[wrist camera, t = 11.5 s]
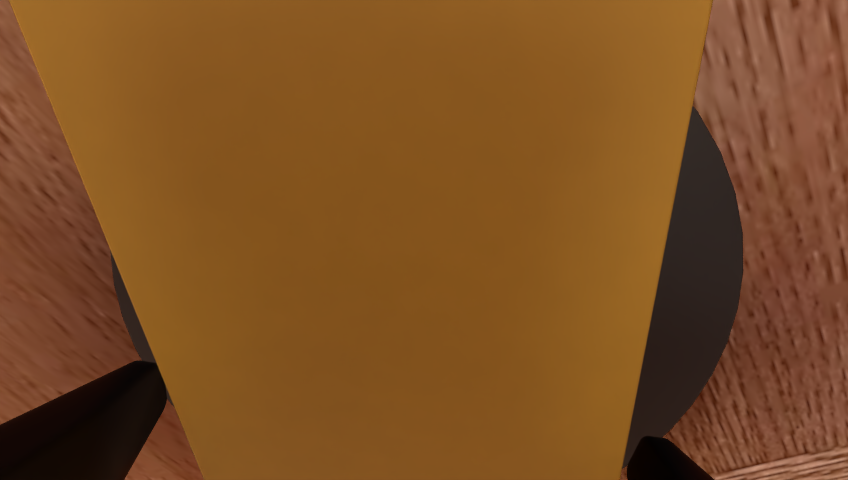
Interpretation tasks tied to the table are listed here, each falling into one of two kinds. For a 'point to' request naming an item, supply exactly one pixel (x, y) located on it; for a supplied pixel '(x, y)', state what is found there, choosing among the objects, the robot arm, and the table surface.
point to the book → (384, 219)
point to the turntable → (657, 292)
